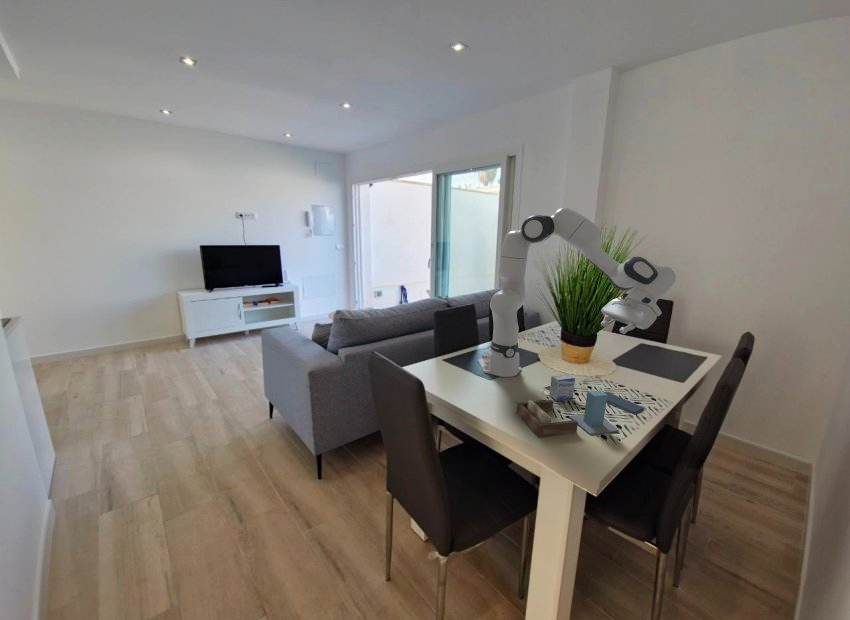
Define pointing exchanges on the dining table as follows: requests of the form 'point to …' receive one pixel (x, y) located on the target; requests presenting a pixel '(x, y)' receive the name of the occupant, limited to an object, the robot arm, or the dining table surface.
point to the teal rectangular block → (595, 407)
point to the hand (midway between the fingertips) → (611, 328)
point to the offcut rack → (545, 428)
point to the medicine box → (562, 387)
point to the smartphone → (623, 404)
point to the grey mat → (594, 429)
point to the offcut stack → (538, 413)
